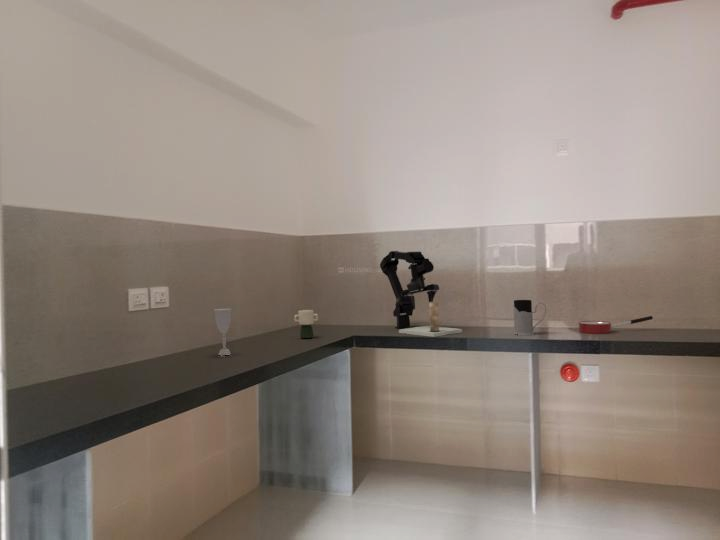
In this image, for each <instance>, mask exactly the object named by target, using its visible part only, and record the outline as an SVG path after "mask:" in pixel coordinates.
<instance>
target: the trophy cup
mask: <svg viewBox="0 0 720 540" xmlns="http://www.w3.org/2000/svg"><path fill="white" fill-rule="evenodd" d="M314 311H315V310H313V309H303V310H302V309H300V310H298V313H297V314H294V317H293V318H294V322H295V323H298V324H299V325H300V332H299V337H300V338H302V339H311V338H313V337H314V330H313V326H312V325H314V322H317V321H319V315H318V313H314ZM297 318H298V319H297ZM310 337H311V338H310Z"/></svg>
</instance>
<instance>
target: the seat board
mask: <svg viewBox="0 0 720 540" xmlns="http://www.w3.org/2000/svg"><path fill="white" fill-rule="evenodd" d="M399 333H400V334H405V333H406V334H408V335H416V336H423V337H424V336H425V337H430V338H431V337H432V338H434V337H441V336H448V335H453V334H458V333H459V334H460V333H463V329H462V328H453V327H445V326H439V332H430V325H422V326H421V325H420V326H416V327H412V328H405V329H401V328H399V329H398V334H399Z"/></svg>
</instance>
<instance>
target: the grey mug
mask: <svg viewBox="0 0 720 540" xmlns="http://www.w3.org/2000/svg"><path fill="white" fill-rule="evenodd" d="M540 304H542V305H544V314H543V316H542V318H541V320H539V322H537V323H536V324H535V325H533V323H534V322H533V314H535V313H536V312H537V307H538V306H539V305H540ZM532 307H533V306H532V300H531V299H516V300H513V325H514V332H513V335H514V334H518V335H517V336H522V335H527V336H533V335H532V334H534V335H535V333H534V329H535V328H536V326H537V325H539V324H540V323H541V322H542V321H543V320H544V318H545V317H546V314H547V307H546V304H545V303H543V302H538V303H537V304H536V305H535V311H532V310H533V308H532Z"/></svg>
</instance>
